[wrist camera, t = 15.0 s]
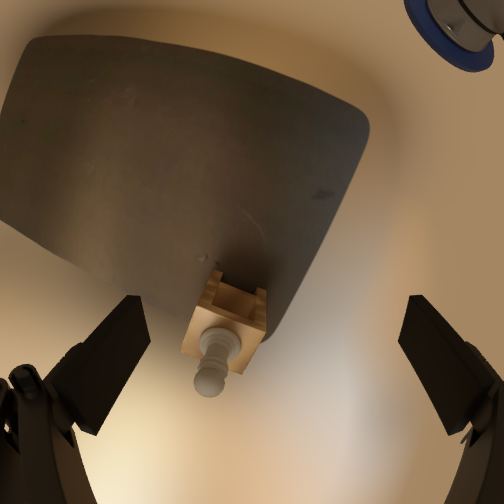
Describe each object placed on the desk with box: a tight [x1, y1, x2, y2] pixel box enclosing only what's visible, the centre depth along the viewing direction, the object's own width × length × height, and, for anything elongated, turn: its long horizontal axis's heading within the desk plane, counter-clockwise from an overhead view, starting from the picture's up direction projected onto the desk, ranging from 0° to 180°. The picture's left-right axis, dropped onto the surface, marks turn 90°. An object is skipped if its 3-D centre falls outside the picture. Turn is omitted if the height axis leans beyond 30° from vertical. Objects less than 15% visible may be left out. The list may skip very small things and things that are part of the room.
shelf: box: [180, 269, 266, 374], centre depth 39 cm, size 9×8×12 cm
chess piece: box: [194, 327, 241, 397], centre depth 29 cm, size 5×5×9 cm
